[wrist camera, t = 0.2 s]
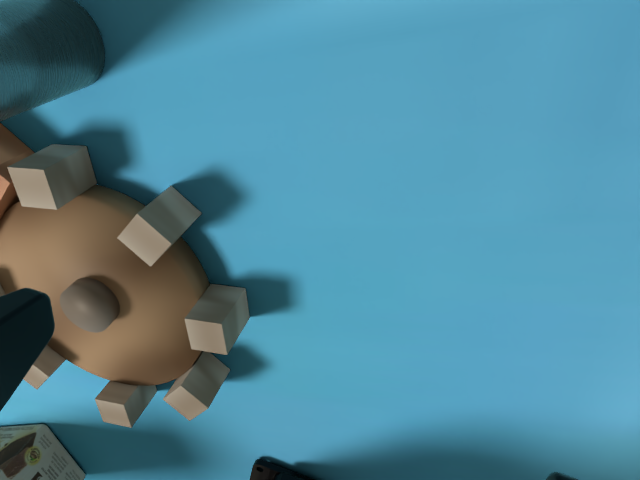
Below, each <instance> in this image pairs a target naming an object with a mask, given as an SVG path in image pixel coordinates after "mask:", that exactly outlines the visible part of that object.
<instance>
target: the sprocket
mask: <svg viewBox="0 0 640 480" xmlns="http://www.w3.org/2000/svg"><path fill="white" fill-rule="evenodd" d="M96 184H97V181H96V178H95V174H94V171H93V167H92V164H91V160H90V157H89V153H88V150H87V147H86V146H75V145H59V144H52V145H50V146H48V147H46V148H44V149H42V150H40V151H38V152H36V153H34V152H33V151H32V150H31V149H30V148H29V147H27V146H26V145H25V144H24V143H23V142H22V141H21V140H19V139H18V138H17V137H16V136H15V135H14V134H12V133H11V132H10V131H9V130H8V129H7V128H6V127H4V126H3V125H2V124H1V123H0V296H3V295H5V294H8V293H11V292H13V291H16V290H19V289H22V288H31V289H34V290H37V291H40V292H43V293H45V294H47V295H48V296H49V297H50V300H51V306H52V311H53V317H54V322H55V329H54V333H53V335H52V337H51V339H50V341H49V342H48V344H47V345H46V347H45V348H44V349H43V351H42V352H41V354H40V355H39V357H38V358H37V360H36V361H35V362H34V364H33V365H32V367H31V368H30V370H29V371H28V373H27V374H26V376H25V377H24V378H23V379H24V380H25V381H27V382H28V383H29V384H30V385H32V386H33V387H34V388H36V389H38V388H39V387H40V386H41V385H42V384H43V383H44V382H45V381H46V380H47V379H48V378H49V377H50V376H51V375H52V374H53V373H54V371H55V370H56V369H57V368H58V367H59V366H60V365H61V364H62V363H63V362H64V361H65V360H66V359H67V360H68V361H70V362H71V363H73V364H74V365H76V366H78V367H80V368H82V369H84V370H86V371H88V372H90V373H92V374H94V375H97V376H99V377H102V378H105V379H108V380H110V381H109V383H108V384H107V385H106V386H105V387H104V389H103V390H102V391H101V392H100V393H99V395H98V396H97V397H96V398H95V401H96V403H97V406H98V409H99V411H100V414H101V417H102V419H103V422H107V423H112V424H116V425H121V426H125V427H130V428H132V426H133V425H134V423H135V422H136V421H137V419H138V418H139V416H140V415H141V414H142V412H143V411H144V409H145V408H146V407H147V405H148V404H149V402H150V401H151V399H152V398H153V397H154V395H155V394H156V392H157V389H156V386H155V385H158V384H163V383H167V382H169V381H172V380H174V379H176V381H175V382H174V384H173V385H172V387H171V388H170V390H169V391H168V393H167V394H166V396H165V397H164V398H163V400H164V401H166V402H167V403H168V404H169V405H171V406H172V407H173V408H174V409H175V410H177V411H178V412H179V413H180V414H182V415H183V416H184V417H185V418H187V419H188V420H189V421H190V420H192V419H193V418H195V417H196V416H198V415H199V414H201V413H202V412H204V411H205V410H206V409H208V408H209V406H210V404H211V403H212V401H213V399H214V397H215V396H216V394H217V392H218V390H219V389H220V387H221V385H222V384H223V382H224V380H225V378H226V377H227V375H228V373H229V371H230V369H229V368H228V367H226V366H225V365H224V364H223V363H222V362H221V361H219V360H218V359H217V358H216V357H215V356H213V355H212V354H211V353H210V352H212V353H218V354H224V355H228V353H229V351H230V350H231V348H232V346H233V345H234V343H235V341H236V340H237V338H238V336H239V335H240V333H241V331H242V330H243V328H244V326H245V325H246V323H247V321H248V320H249V318H250V316H249V309H248V302H247V295H246V289H245V288H240V287H232V286H225V285H217V284H211V285H210V283H209V281H208V278H207V276H206V273H205V271H204V269H203V267H202V266H201V264H200V262H199V260H198V258H197V257H196V255H195V254H194V253H193V251H192V250H191V248H190V247H189V245H188V244H187V243H186V242H185V241H184V240H183V238H182V237H181V235H182V234H183V233H184V232H185V231H186V230H187V229H188V228H189V227H190V226H191V225H192V224H193V223H194V221H195V220H196V219H197V218H198V217H199V216H200V215H201V214H202V213H201V212H200V211H199V210H198V209H196V208H195V207H194V206H193V205H192V204H191V203H190V202H189V201H188V200H187V199H185V198H184V197H183V196H182V195H181V194H180V193H179V192H178V191H177V190H176V189H175V188H173V187H172V186H170V187H169V188H167V189H166V190H165V191H164V192H162V193H161V194H160V195H159V196H158V197H156V198H155V199H154V200H153V201H152V202H150V203H149V204H148V205H147V206H145V205H143V204H142V203H140V202H138V201H136V200H135V199H133V198H131V197H129V196H127V195H125V194H123V193H120V192H118V191H115V190H113V189H110V188H107V187H104V186H100V185H96Z"/></svg>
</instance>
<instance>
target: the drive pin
mask: <svg viewBox="0 0 640 480" xmlns="http://www.w3.org/2000/svg"><path fill="white" fill-rule="evenodd" d="M104 61H105V52H104V45H103V41H102V38H101V35H100V32H99V30H98V28H97V26H96V24H95V22H94V21H93V19H92V18H91V17H90V15H89V14H88V13H87V12H86V11H85V10H84V8H83V7H81V6H80V5H79V4H78V3H77V2H75V1H74V0H0V121H3V120H5V119H8V118H10V117H13V116H15V115H18V114H20V113H23V112H25V111H28V110H30V109H33V108H35V107H37V106H40V105H42V104H45V103H47V102H50V101H52V100H55V99H57V98H60V97H62V96H65V95H67V94H70V93H72V92H75V91H77V90H80V89H82V88H85V87H87V86H89V85H91V84H93V83H94V82H95V81H96V80H97V79H98V78H99V76H100V75H101V73H102V70H103V67H104Z"/></svg>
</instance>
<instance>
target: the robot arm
mask: <svg viewBox="0 0 640 480" xmlns="http://www.w3.org/2000/svg"><path fill="white" fill-rule="evenodd" d="M54 329H55V322H54V317H53V311H52V306H51V300H50V297H49V296H48V295H47V294H45V293H43V292H40V291H37V290H34V289H31V288H22V289H19V290H16V291H13V292H11V293H8V294H5V295H3V296H0V411H1V410H2V408H3V407H4V406H5V404H6V403H7V401H8V400H9V399H10V397H11V396H12V394H13V393H14V391H15V390H16V389H17V387H18V386H19V384H20V383H21V381H22V380H23V378H24V377H25V376H26V374H27V373H28V371H29V370H30V368H31V367H32V365H33V364H34V362H35V361H36V360H37V358H38V357H39V355H40V354H41V352H42V351H43V349H44V348H45V347H46V345H47V344H48V342H49V341H50V339H51V337H52V335H53V333H54ZM250 480H313V479H310V478H308V477H305V476H303V475H300V474H297V473H295V472H292V471H290V470H287V469H285V468H282V467H280V466H277V465H274V464H272V463H269V462H267V461H264V460H261V459H257V460H256V461H255V463H254V465H253V468H252V472H251V476H250ZM546 480H577V479H575V478H573V477H570V476H567V475H564V474H561V473H558V472H554V473H551V474H550V475H549V476H548V477H547V479H546Z"/></svg>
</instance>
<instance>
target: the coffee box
mask: <svg viewBox="0 0 640 480" xmlns="http://www.w3.org/2000/svg"><path fill="white" fill-rule="evenodd" d="M84 478H85V473H84V472H83V471H82V470H81V468H80V467H79V466H78V465H77V464H76V462H75V461H74V460H73V458H72V457H71V456H70V455H69V453H68V452H67V451H66V450H65V448H64V447H63V446H62V445H61V443H60V442H59V441H58V439H57V438H56V437H55V436H54V434H53V433H52V432H51V430H50V429H49V428H48V426H46V425H44V424H36V425H23V426H7V427H0V480H84Z"/></svg>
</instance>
